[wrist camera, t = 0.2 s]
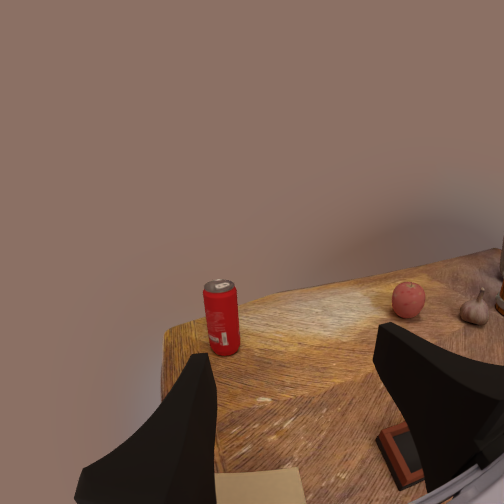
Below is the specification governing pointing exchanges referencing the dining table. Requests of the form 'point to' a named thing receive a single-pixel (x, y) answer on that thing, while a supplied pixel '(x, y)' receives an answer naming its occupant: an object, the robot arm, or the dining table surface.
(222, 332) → the beverage can
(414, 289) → the apple
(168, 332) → the dining table surface
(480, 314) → the garlic bulb
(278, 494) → the foam pad
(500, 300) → the mug
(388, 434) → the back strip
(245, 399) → the dining table surface
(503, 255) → the planter
